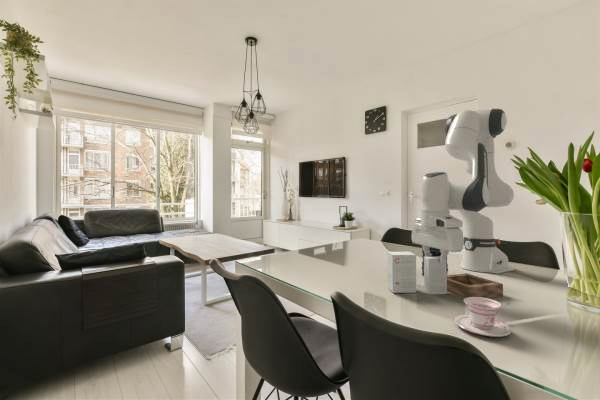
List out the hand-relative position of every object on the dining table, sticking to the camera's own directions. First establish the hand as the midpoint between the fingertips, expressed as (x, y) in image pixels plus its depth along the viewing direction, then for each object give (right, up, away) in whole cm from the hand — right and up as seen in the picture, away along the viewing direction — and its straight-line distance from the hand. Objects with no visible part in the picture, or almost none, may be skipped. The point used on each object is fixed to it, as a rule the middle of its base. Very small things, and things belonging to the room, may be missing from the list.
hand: (434, 260), depth 98 cm
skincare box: (0, -11, 0) cm, 11 cm away
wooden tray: (+12, -11, +1) cm, 16 cm away
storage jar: (+10, -11, +21) cm, 26 cm away
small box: (-11, -11, +3) cm, 15 cm away
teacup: (0, -11, -26) cm, 28 cm away
